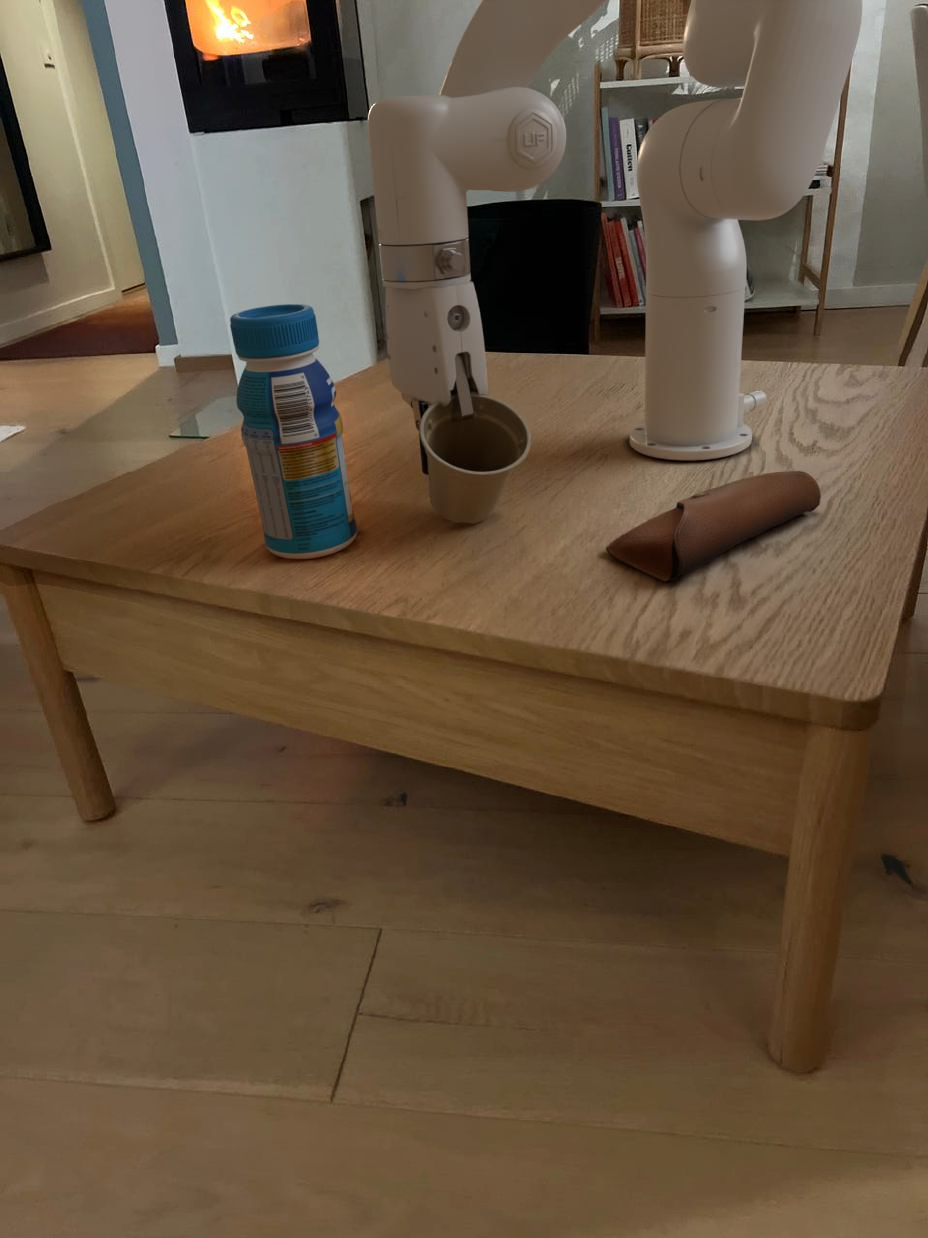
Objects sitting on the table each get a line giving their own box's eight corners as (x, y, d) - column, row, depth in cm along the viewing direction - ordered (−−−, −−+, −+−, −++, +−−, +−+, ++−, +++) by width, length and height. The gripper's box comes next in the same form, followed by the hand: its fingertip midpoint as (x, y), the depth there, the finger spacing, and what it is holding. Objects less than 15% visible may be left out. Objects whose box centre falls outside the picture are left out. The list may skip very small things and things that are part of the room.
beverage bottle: (247, 558, 79) (195, 322, 70) (295, 521, 86) (255, 302, 76) (331, 566, 76) (290, 320, 67) (375, 527, 83) (343, 299, 73)
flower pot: (496, 553, 80) (513, 488, 73) (396, 520, 80) (403, 451, 73) (524, 481, 85) (543, 413, 78) (430, 450, 86) (440, 379, 79)
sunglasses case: (736, 487, 82) (774, 433, 77) (791, 541, 80) (834, 489, 75) (597, 550, 73) (629, 493, 68) (654, 613, 70) (691, 559, 65)
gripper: (513, 264, 72) (520, 483, 81) (419, 254, 84) (434, 447, 92) (432, 276, 69) (449, 503, 77) (346, 263, 80) (369, 463, 89)
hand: (441, 472), depth 85 cm, fingers closed
